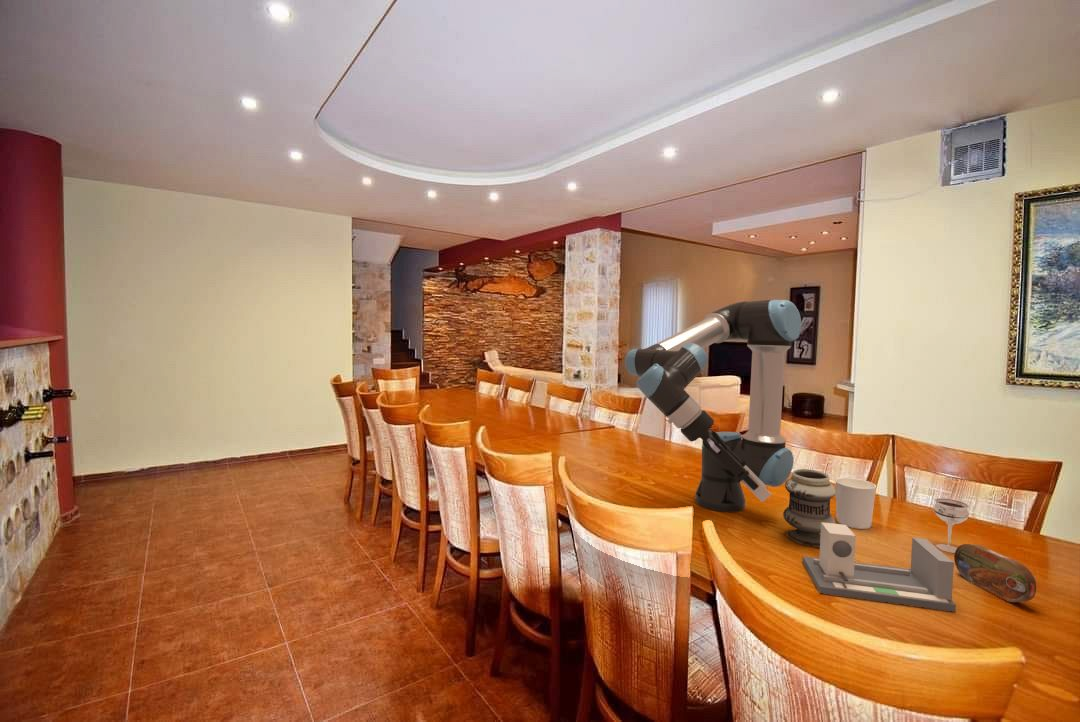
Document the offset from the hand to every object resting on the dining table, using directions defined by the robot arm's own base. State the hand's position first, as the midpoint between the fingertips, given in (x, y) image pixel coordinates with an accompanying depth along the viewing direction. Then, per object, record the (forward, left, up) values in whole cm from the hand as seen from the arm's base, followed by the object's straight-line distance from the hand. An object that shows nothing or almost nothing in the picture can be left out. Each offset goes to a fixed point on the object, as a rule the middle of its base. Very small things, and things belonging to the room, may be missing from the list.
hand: (763, 493), depth 108 cm
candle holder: (+8, +47, -18) cm, 51 cm away
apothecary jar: (+2, +26, -18) cm, 32 cm away
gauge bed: (+19, +11, -18) cm, 29 cm away
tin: (+38, +27, -19) cm, 50 cm away
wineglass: (+29, +46, -18) cm, 58 cm away
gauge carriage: (+14, +6, -16) cm, 22 cm away
